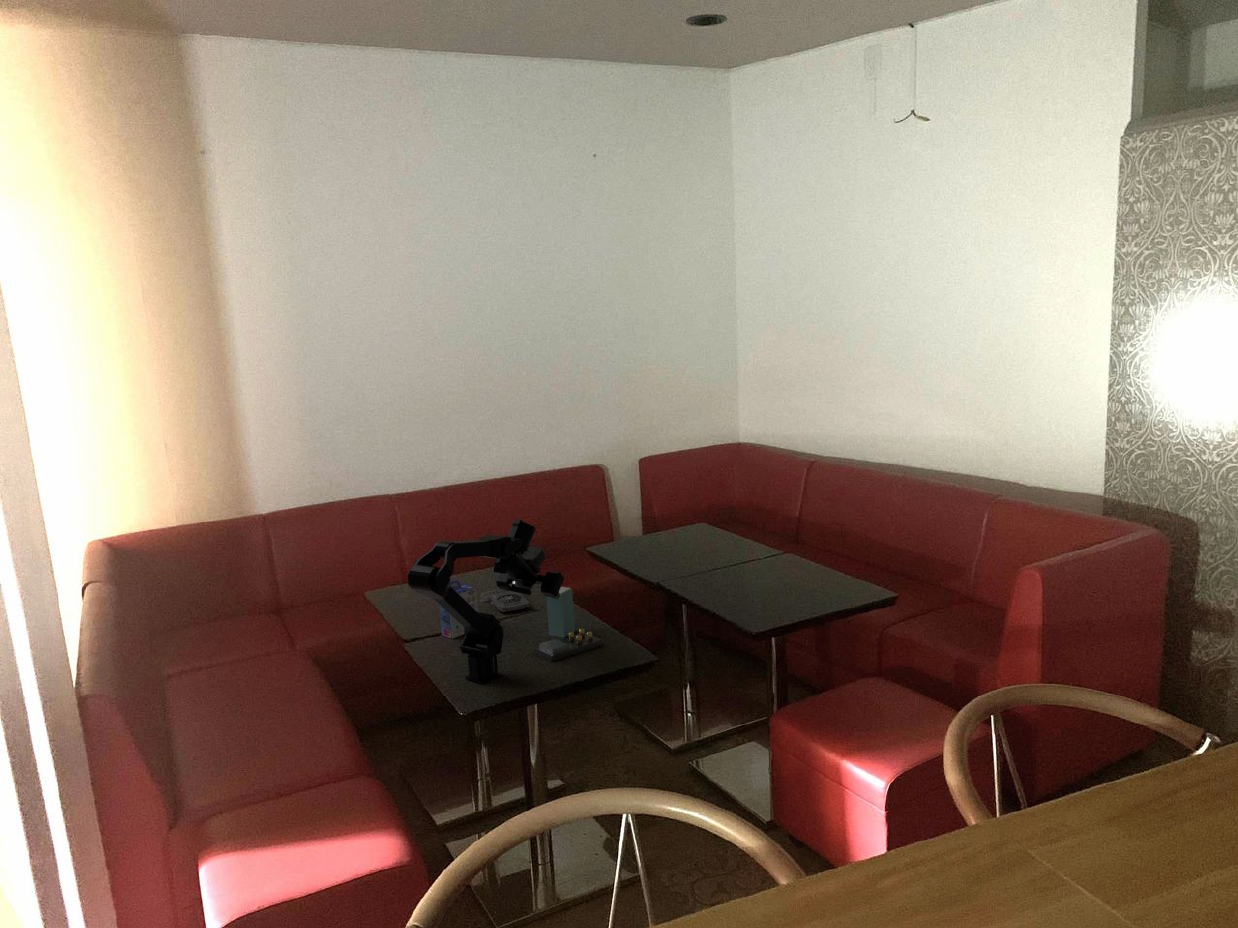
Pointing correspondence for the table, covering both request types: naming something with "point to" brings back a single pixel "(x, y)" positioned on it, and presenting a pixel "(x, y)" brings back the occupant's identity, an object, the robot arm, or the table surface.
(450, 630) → the ink cartridge box
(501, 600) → the graphics card
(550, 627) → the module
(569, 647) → the chassis
